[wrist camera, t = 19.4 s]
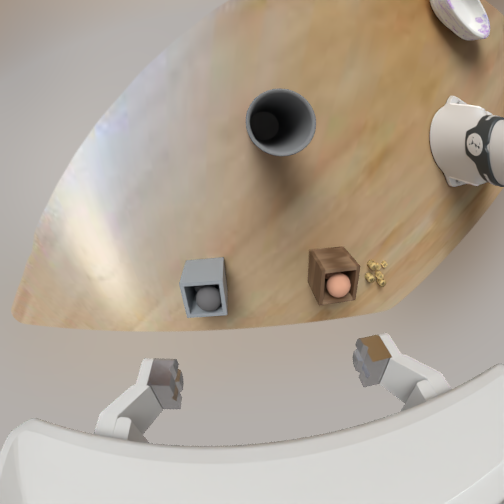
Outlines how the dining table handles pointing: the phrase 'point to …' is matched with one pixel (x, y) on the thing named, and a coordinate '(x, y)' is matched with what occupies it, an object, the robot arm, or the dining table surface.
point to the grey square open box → (203, 275)
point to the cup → (280, 122)
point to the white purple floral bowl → (463, 17)
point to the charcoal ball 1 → (203, 286)
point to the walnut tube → (331, 263)
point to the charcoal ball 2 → (208, 298)
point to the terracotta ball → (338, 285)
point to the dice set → (376, 273)
